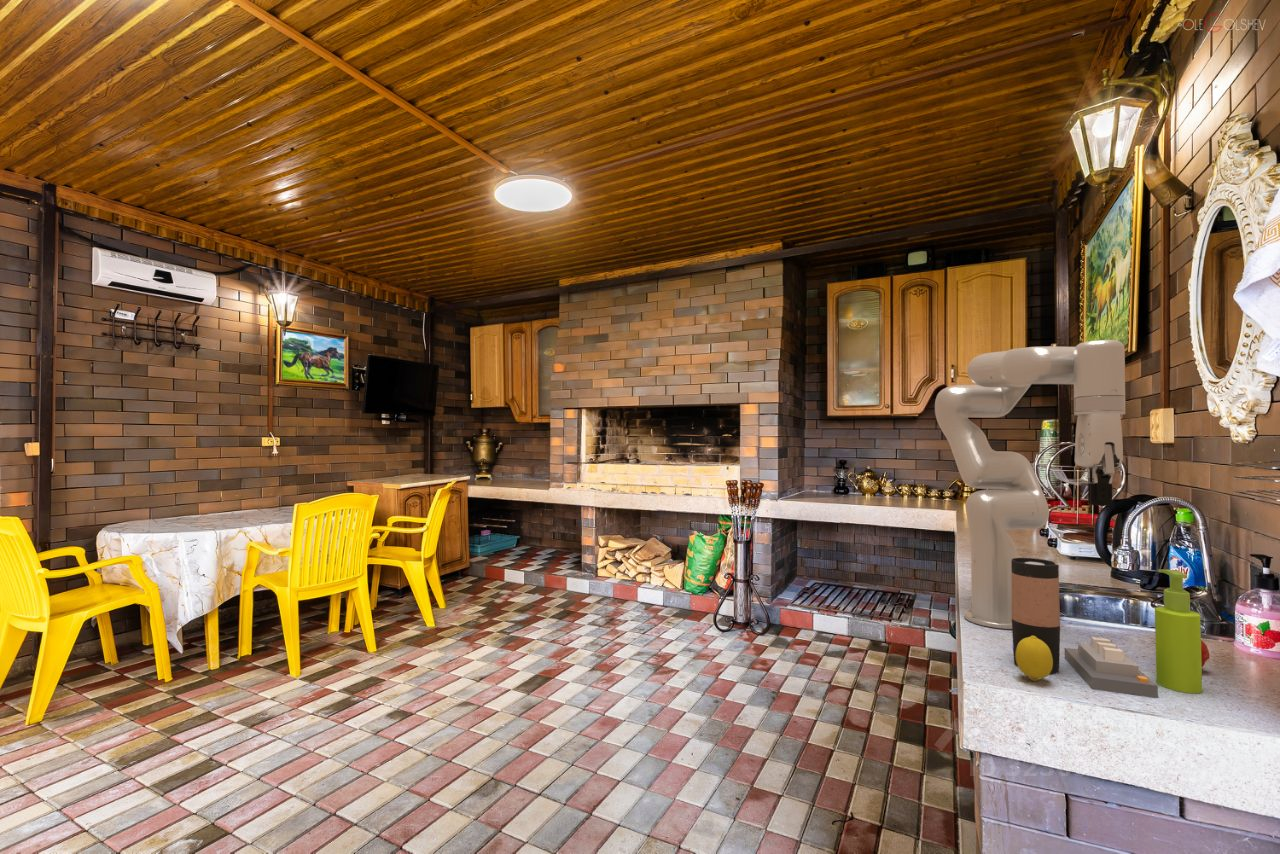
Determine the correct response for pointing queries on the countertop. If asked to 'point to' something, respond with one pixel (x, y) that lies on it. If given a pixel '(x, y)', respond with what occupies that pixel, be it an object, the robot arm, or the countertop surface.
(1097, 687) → the breaker panel
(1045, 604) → the travel mug
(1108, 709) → the countertop surface
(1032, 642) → the lemon
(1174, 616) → the soap dispenser
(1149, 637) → the countertop surface
